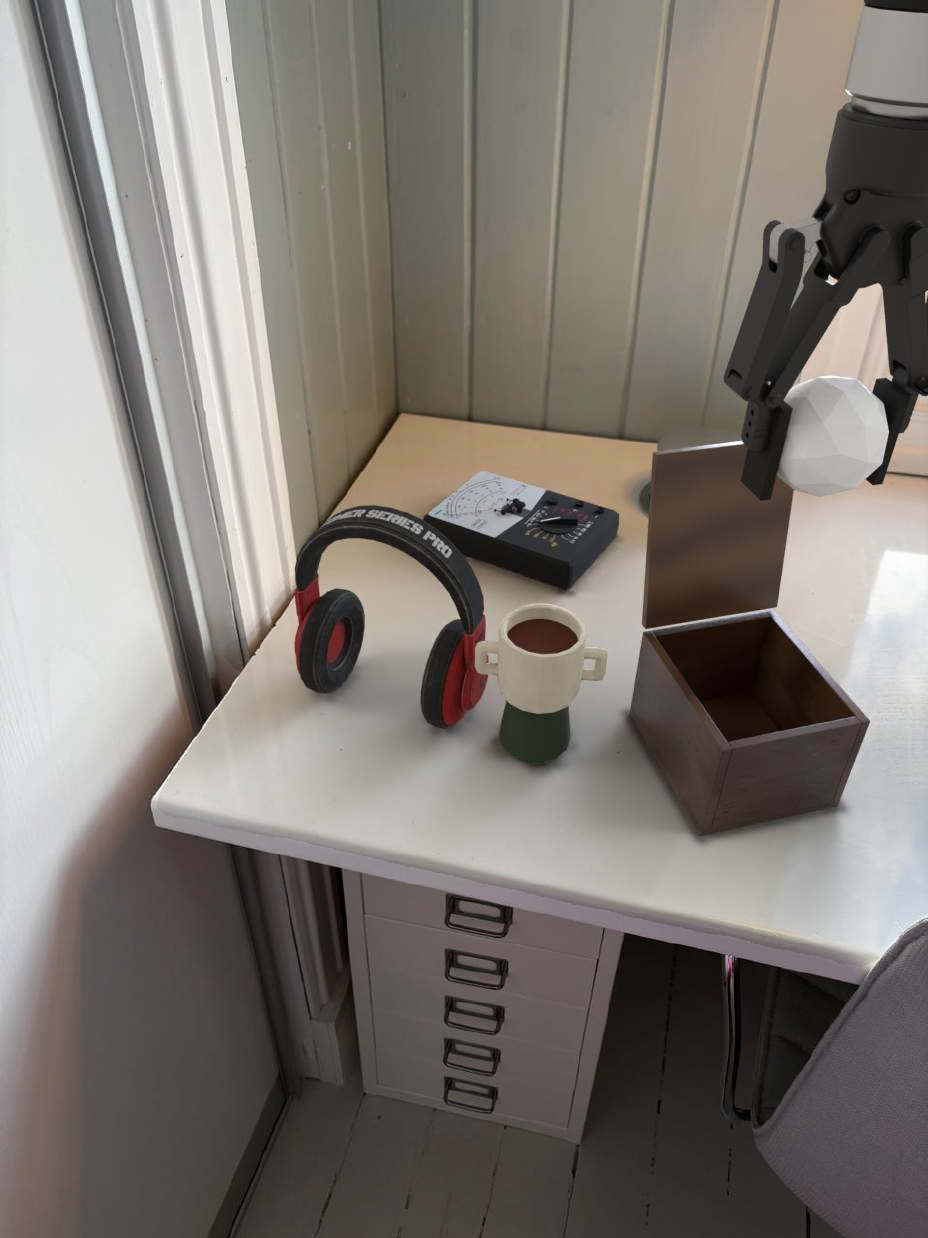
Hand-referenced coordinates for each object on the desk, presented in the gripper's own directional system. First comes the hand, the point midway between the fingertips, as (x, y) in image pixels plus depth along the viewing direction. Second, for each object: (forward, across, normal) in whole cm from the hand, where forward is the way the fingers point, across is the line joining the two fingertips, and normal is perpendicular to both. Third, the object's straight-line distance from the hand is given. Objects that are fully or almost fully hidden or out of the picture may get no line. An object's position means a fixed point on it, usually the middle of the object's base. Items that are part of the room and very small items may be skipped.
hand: (811, 482), depth 63 cm
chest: (+28, 0, -1) cm, 28 cm away
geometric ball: (0, 0, 0) cm, 1 cm away
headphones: (+28, +27, -16) cm, 42 cm away
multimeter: (+28, +7, -39) cm, 49 cm away
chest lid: (+10, 0, -10) cm, 14 cm away
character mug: (+28, +16, -7) cm, 33 cm away
